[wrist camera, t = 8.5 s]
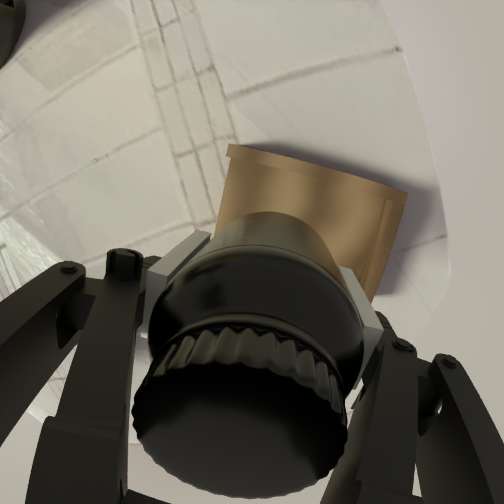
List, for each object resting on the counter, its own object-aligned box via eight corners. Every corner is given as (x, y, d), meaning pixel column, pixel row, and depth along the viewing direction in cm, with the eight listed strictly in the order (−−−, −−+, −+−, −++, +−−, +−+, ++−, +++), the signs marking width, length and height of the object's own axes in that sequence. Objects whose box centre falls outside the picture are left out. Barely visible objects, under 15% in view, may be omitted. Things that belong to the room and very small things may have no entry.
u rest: (210, 258, 35) (202, 270, 32) (235, 145, 32) (228, 143, 28) (360, 296, 35) (368, 311, 31) (395, 189, 31) (407, 192, 28)
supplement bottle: (356, 283, 17) (436, 458, 6) (257, 347, 19) (223, 531, 7) (281, 180, 16) (267, 225, 5) (181, 257, 18) (45, 394, 6)
